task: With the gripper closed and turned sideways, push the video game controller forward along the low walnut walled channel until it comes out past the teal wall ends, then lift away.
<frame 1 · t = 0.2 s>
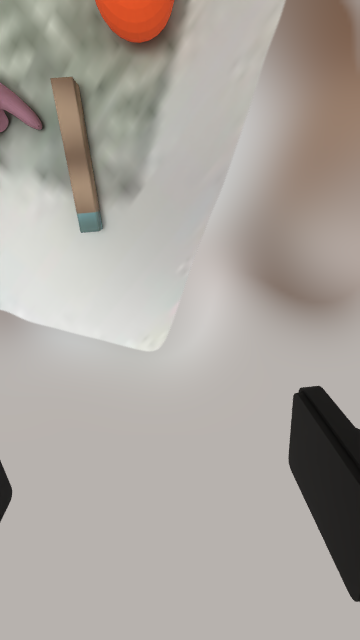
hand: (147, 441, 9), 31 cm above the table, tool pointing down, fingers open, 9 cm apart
clementine: (135, 4, 29), on the table
channel: (4, 169, 33), on the table
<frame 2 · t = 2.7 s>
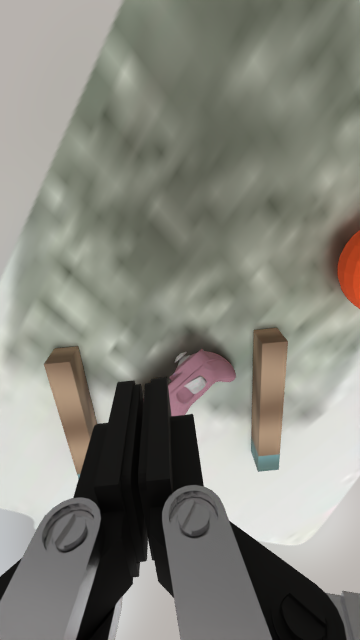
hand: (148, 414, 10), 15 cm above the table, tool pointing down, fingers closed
video game controller: (176, 378, 28), on the table
channel: (173, 404, 29), on the table
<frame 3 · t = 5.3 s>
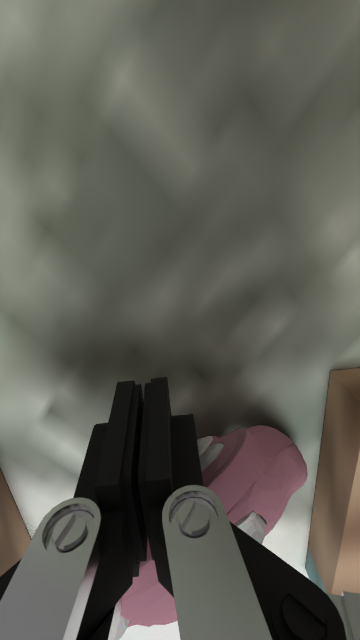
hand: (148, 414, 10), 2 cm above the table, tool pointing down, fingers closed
video game controller: (186, 464, 15), on the table, touching gripper
channel: (170, 503, 15), on the table
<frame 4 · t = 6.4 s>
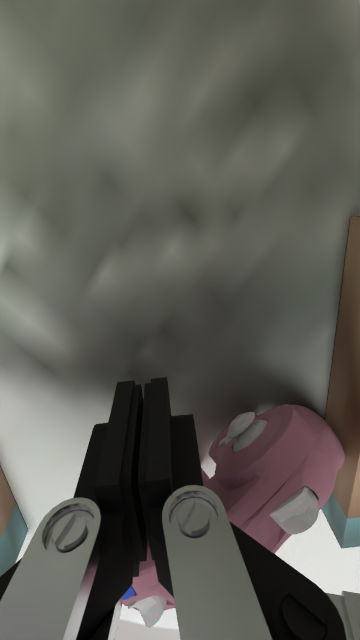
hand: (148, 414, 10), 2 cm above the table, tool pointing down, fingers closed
video game controller: (213, 447, 14), on the table, touching channel, gripper
channel: (157, 404, 13), on the table
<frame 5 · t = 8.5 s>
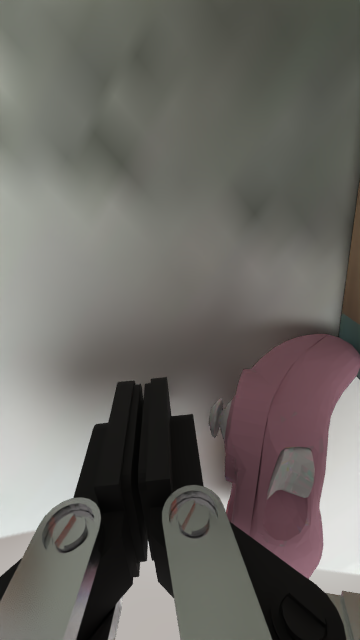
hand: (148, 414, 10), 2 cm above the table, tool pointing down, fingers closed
video game controller: (256, 422, 14), on the table, touching channel, gripper
channel: (132, 192, 10), on the table
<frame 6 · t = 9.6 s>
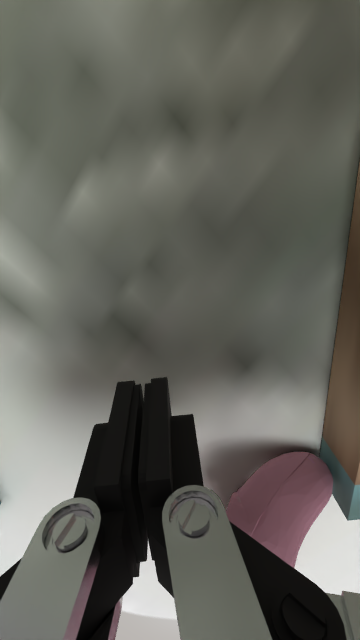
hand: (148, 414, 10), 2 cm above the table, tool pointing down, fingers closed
video game controller: (245, 512, 16), on the table
channel: (143, 356, 12), on the table
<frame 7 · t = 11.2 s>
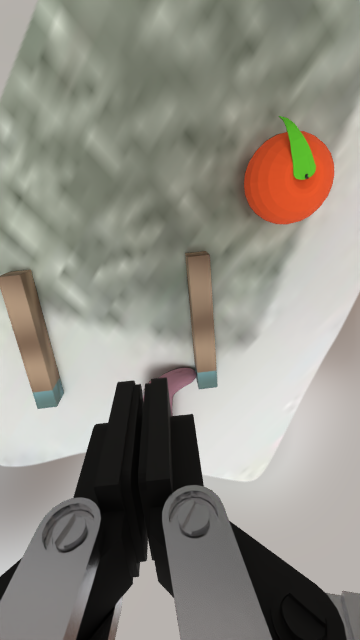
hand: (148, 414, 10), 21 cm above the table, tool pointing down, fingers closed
clementine: (269, 177, 28), on the table
video game controller: (169, 400, 36), on the table
channel: (120, 327, 32), on the table
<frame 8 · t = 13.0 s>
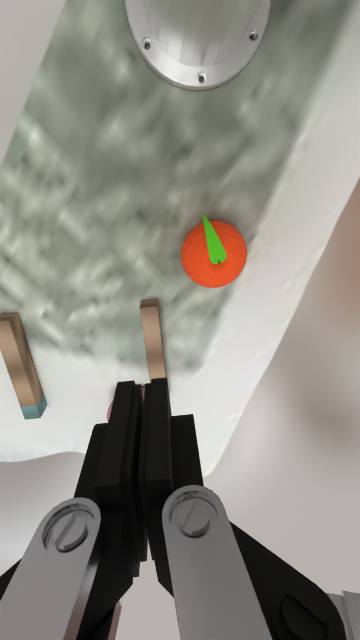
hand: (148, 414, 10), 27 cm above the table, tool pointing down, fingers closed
clementine: (207, 244, 35), on the table
channel: (90, 356, 40), on the table
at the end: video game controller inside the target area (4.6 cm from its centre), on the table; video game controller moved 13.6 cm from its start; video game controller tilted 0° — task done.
